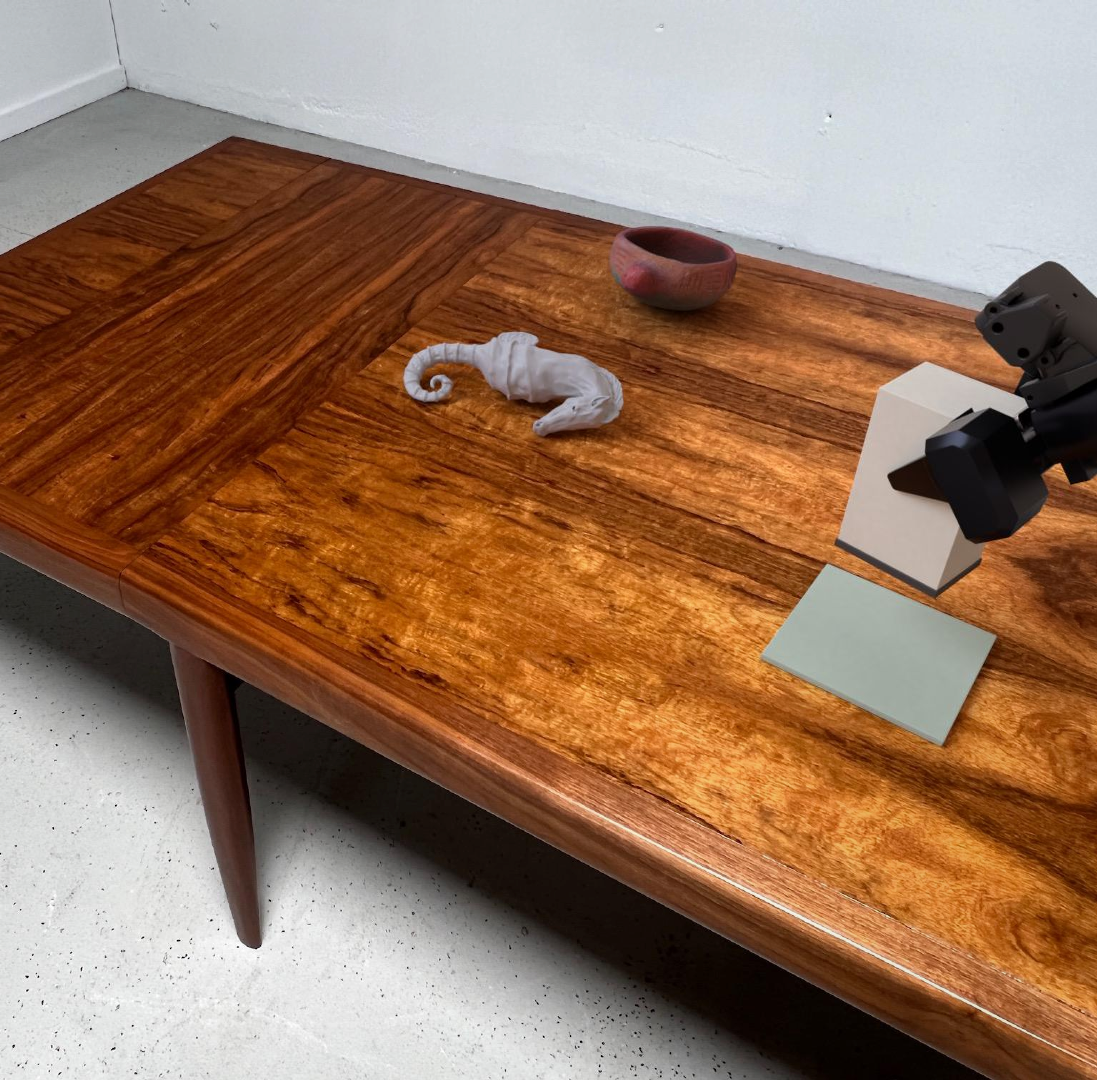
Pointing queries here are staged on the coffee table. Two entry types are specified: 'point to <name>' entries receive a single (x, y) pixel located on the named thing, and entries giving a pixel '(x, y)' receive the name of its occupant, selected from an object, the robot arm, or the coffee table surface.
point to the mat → (881, 652)
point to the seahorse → (527, 379)
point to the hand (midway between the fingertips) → (914, 465)
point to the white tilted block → (905, 519)
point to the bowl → (672, 267)
